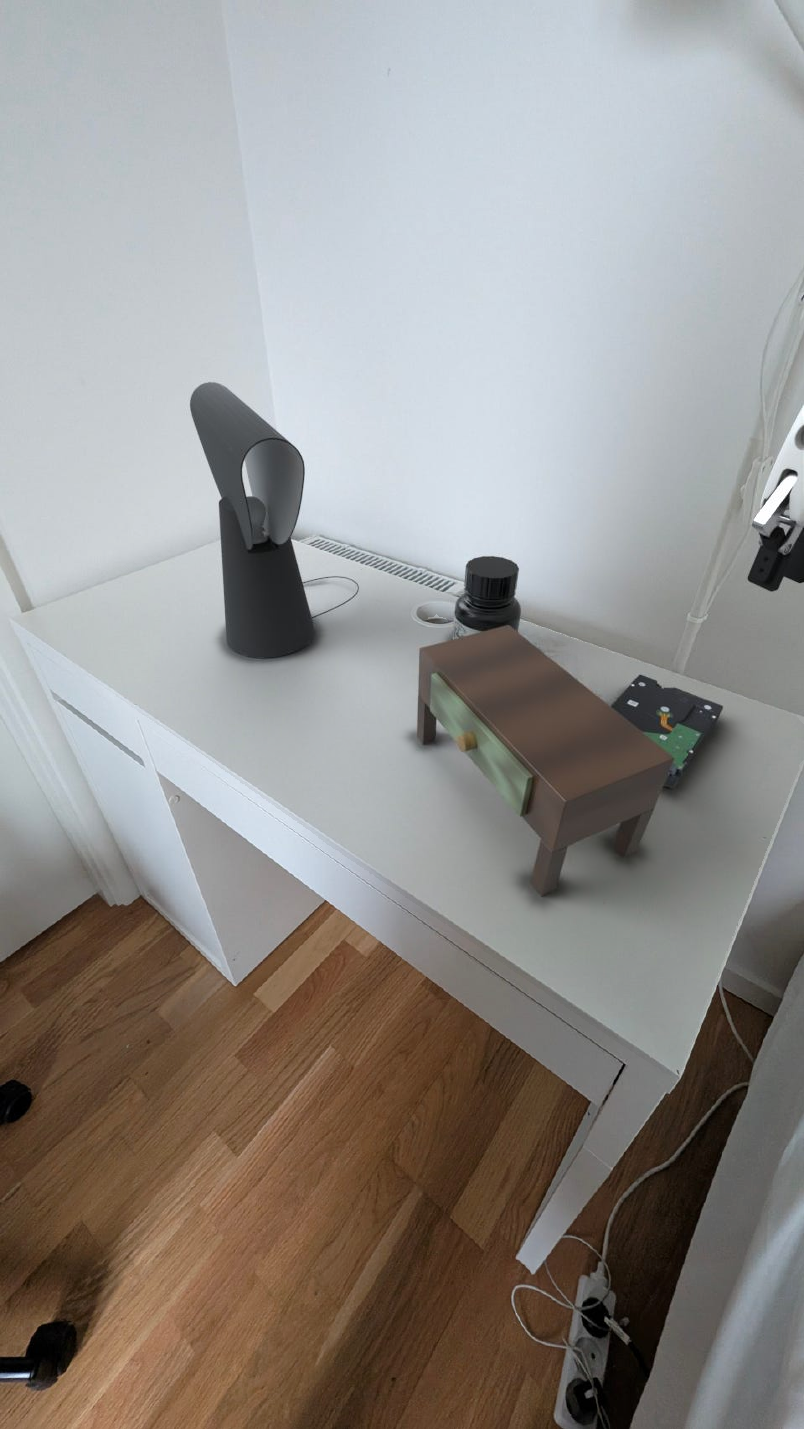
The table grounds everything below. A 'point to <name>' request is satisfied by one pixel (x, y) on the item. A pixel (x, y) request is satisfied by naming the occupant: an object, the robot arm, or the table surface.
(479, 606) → the ink bottle
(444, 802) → the table surface
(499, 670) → the drawer unit
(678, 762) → the disk drive
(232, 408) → the table lamp
